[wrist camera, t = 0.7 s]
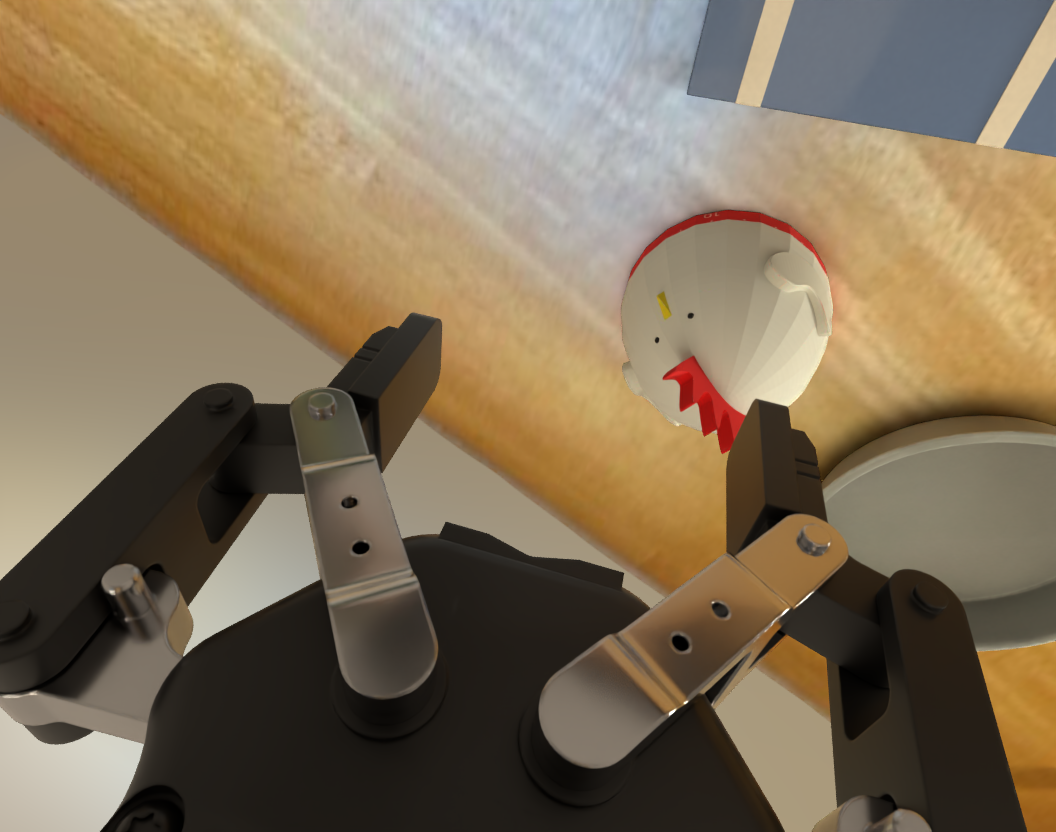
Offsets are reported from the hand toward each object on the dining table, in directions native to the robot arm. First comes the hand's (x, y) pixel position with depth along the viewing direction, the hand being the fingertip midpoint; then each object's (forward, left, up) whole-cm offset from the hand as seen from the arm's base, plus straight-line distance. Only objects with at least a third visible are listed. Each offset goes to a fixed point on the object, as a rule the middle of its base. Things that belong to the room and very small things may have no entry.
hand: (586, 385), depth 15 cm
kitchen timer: (+11, +7, -28) cm, 31 cm away
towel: (-7, +11, -28) cm, 31 cm away
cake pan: (+25, +30, -28) cm, 48 cm away
